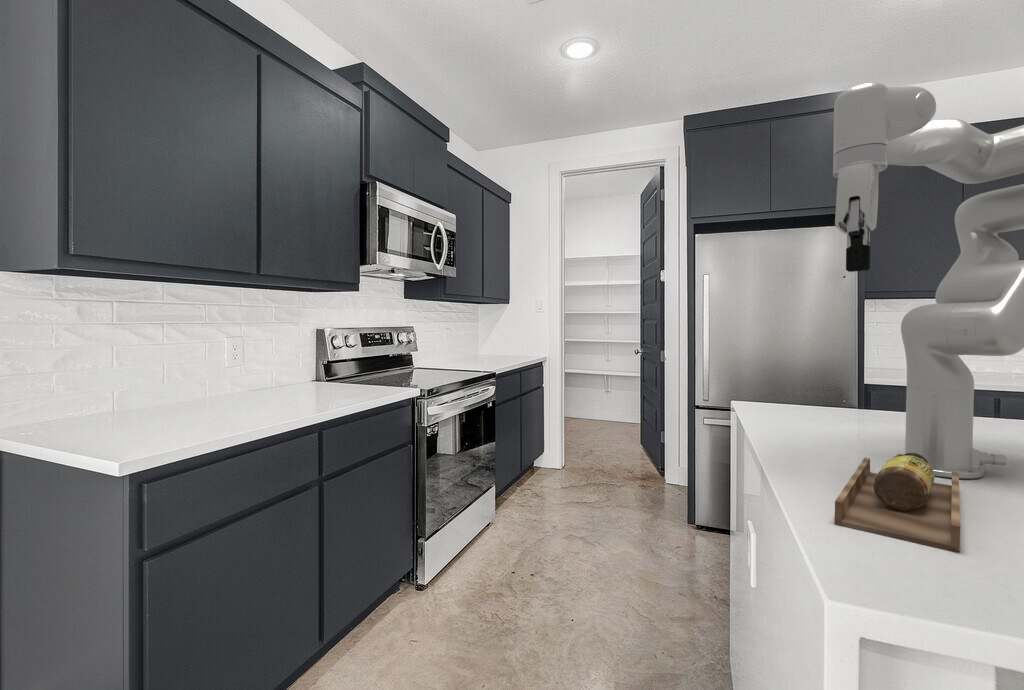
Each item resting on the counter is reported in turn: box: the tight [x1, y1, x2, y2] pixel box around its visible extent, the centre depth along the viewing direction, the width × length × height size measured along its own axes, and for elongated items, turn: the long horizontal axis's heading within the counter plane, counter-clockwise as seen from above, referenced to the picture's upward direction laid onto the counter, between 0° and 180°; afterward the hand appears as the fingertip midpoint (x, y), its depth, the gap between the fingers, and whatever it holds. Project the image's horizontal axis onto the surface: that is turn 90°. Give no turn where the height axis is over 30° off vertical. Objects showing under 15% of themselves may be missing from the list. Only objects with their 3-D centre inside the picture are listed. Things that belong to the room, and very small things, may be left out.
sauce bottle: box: [874, 453, 935, 511], centre depth 75 cm, size 7×6×20 cm
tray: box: [834, 457, 961, 553], centre depth 72 cm, size 30×13×3 cm, turn 137°
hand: (857, 270), depth 81 cm, fingers closed
